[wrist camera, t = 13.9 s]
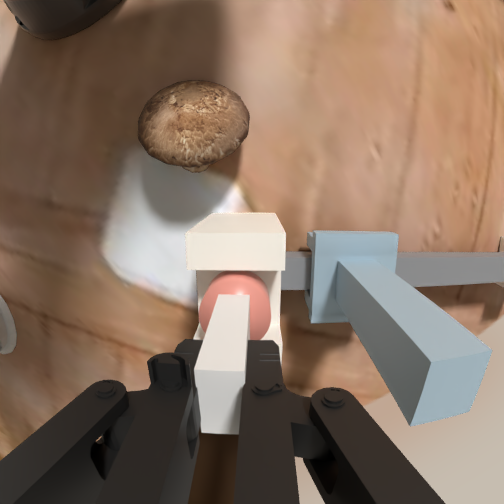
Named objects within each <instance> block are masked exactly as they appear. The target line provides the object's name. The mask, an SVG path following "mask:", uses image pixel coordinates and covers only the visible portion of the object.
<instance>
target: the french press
mask: <svg viewBox="0 0 504 504" xmlns="http://www.w3.org/2000/svg"><path fill="white" fill-rule="evenodd" d="M16 338H17V332H16V328H15V324H14V319H13V317H12V315H11V312H10V310H9V308H8V306H7V303H6V302H5V301H4V299H3V298H2V297H1V295H0V353H2V354H8V353H11V352H12V351H13V349H14V348H15V346H16Z"/></svg>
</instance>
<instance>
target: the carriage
mask: <svg viewBox="0 0 504 504" xmlns="http://www.w3.org/2000/svg"><path fill="white" fill-rule="evenodd" d="M398 237H399V235H398V234H396V233H393V232H374V231H313V232H307V246H308V247H309V248H310V250H311V251H312V265H311V285H310V290H305V301H306V304H307V306H308V309H309V319H310V322H311V323H337V322H349V323H350V324H351V326H352V327H353V329H354V331H355V332H356V334H357V336H358V337H359V339H360V341H361V342H362V344H363V346H364V347H365V349H366V351H367V352H368V354H369V356H370V357H371V359H372V361H373V363H374V364H375V366H376V368H377V369H378V371H379V373H380V374H381V376H382V378H383V380H384V381H385V383H386V385H387V387H388V388H389V390H390V392H391V394H392V395H393V397H394V399H395V400H396V402H397V404H398V406H399V407H400V409H401V411H402V413H403V415H404V416H405V418H406V420H407V422H408V424H409V425H410V426H415V425H419V424H424V423H428V422H432V421H436V420H440V419H444V418H448V417H451V416H456V415H459V414H463V413H466V412H469V411H470V408H471V406H472V404H473V401H474V399H475V396H476V394H477V391H478V389H479V386H480V384H481V381H482V379H483V376H484V373H485V370H486V367H487V364H488V362H489V359H490V356H491V353H492V350H491V349H490V348H489V347H488V346H487V345H485V344H484V343H483V342H482V341H481V340H479V339H478V338H477V337H476V336H475V335H473V334H472V333H471V332H470V331H469V330H467V329H466V328H465V327H464V326H462V325H461V324H460V323H459V322H457V321H456V320H455V319H454V318H452V317H451V316H450V315H449V314H447V313H446V312H445V311H444V310H442V309H441V308H440V307H438V306H437V305H436V304H435V303H433V302H432V301H431V300H429V299H428V298H427V297H425V296H424V295H423V294H422V293H420V292H419V291H418V290H416V289H415V288H414V287H412V286H411V285H410V284H408V283H407V282H406V281H404V280H403V279H402V278H400V277H399V276H397V275H396V274H395V269H396V259H397V249H398Z"/></svg>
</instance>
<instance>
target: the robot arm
mask: <svg viewBox="0 0 504 504" xmlns="http://www.w3.org/2000/svg"><path fill="white" fill-rule="evenodd" d="M120 1H121V0H4V2H5V3H6V5H7V7H8V8H9V10H10V11H11V12H12V13H13V14H14V15H15V18H16V21H17V23H18V24H19V26H20V27H21V28H22V29H23V30H24V31H26V32H28V33H30V34H31V35H33V36H35V37H37V38H40V39H45V40H52V39H59V38H63V37H66V36H69V35H72V34H74V33H76V32H78V31H81V30H82V29H84V28H86V27H88V26H90V25H91V24H93V23H94V22H96V21H97V20H99V19H100V18H101V17H103V16H104V15H105V14H107V13H108V12H109V11H110V10H111V9H113V8H114V7H115V6H116V5H117V4H118V3H119V2H120ZM147 364H148V370H149V375H150V381H151V384H150V387H149V389H146V390H141V391H130V392H127V391H126V387H125V386H124V385H123V383H121V382H119V381H115V380H102V381H99V382H96V383H94V384H92V385H91V386H90V387H88V388H87V389H86V390H85V391H84V392H82V393H81V394H80V395H79V396H78V397H76V398H75V399H74V400H73V401H72V402H70V403H69V404H68V405H67V406H66V407H64V408H63V409H62V410H61V411H60V412H58V413H57V414H56V415H55V416H54V417H52V418H51V419H50V420H49V421H48V422H46V423H45V424H44V425H43V426H42V427H40V428H39V429H38V430H37V431H36V432H34V433H33V434H32V435H31V436H30V437H28V438H27V439H26V440H25V441H24V442H22V443H21V444H20V445H19V446H18V447H16V448H15V449H14V450H13V451H12V452H10V453H9V454H8V455H7V456H6V457H4V458H3V459H2V460H1V461H0V504H188V499H189V494H190V489H191V484H192V479H193V474H194V469H195V464H196V459H197V454H198V449H199V444H200V441H199V433H198V432H199V428H200V424H201V432H202V433H215V434H239V438H238V451H237V464H236V477H235V490H234V503H233V504H300V503H299V494H298V485H297V475H296V466H295V457H294V456H296V457H301V458H303V461H304V463H305V465H306V467H307V469H308V471H309V473H310V475H311V477H312V479H313V481H314V483H315V485H316V487H317V489H318V491H319V493H320V495H321V496H322V498H323V500H324V502H325V504H445V503H444V501H443V500H442V499H441V498H440V497H439V496H438V495H437V493H436V492H435V491H434V490H433V489H432V488H431V487H430V486H429V484H428V483H427V482H426V481H425V480H424V478H423V477H422V476H421V475H420V474H419V472H418V471H417V470H416V469H415V468H414V467H413V465H412V464H411V463H410V462H409V461H408V460H407V458H406V457H405V456H404V455H403V454H402V453H401V451H400V450H399V449H398V448H397V447H396V446H395V444H394V443H393V442H392V441H391V440H390V438H389V437H388V436H387V435H386V434H385V433H384V431H383V430H382V429H381V428H380V427H379V425H378V424H377V423H376V422H375V421H374V420H373V419H372V417H371V416H370V415H369V414H368V412H367V411H366V410H365V409H364V408H363V406H362V405H361V404H360V403H359V402H358V400H357V399H356V398H355V397H354V396H353V395H352V394H351V393H350V392H348V391H346V390H344V389H341V388H334V387H330V388H323V389H320V390H318V391H316V392H315V393H314V394H313V395H312V398H310V397H304V396H300V395H296V394H294V393H292V392H290V391H289V390H287V389H286V387H285V385H284V383H283V377H282V368H281V361H280V352H279V346H278V345H277V344H276V343H275V342H274V341H273V340H250V295H230V294H219V295H218V298H217V301H216V304H215V307H214V310H213V313H212V316H211V319H210V322H209V325H208V328H207V331H206V334H205V337H204V340H194V339H185V340H184V341H182V342H181V343H180V344H178V345H177V347H176V349H175V352H174V353H162V354H158V355H155V356H153V357H151V358H150V359H149V360H148V361H147ZM100 436H101V438H100V440H98V441H97V442H96V440H97V439H98V438H99V437H100Z"/></svg>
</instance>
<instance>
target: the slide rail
mask: <svg viewBox="0 0 504 504" xmlns="http://www.w3.org/2000/svg"><path fill="white" fill-rule="evenodd" d="M185 245H186V266H187V270H196V277H197V295H198V312H199V307H200V304H201V302H202V299H203V297H204V295H205V293H206V290H207V288H208V286H209V284H210V282H211V281H212V280H213V278H214V277H215V276H217V275H218V274H219V273H221V272H223V271H225V270H249V271H251V272H253V273H255V274H256V275H258V276H259V277H260V278H261V279H262V280H263V281H264V283H265V284H266V286H267V288H268V291H269V297H270V307H271V323H270V327H269V329H268V331H267V333H266V334H265V335H264V337H263V338H262V339H261V340H273V341H274V342H275V343H276V344H277V345H278V346H279V352H280V361H281V363H282V338H281V331H280V296H281V290H310V285H311V265H312V252H286V232H285V231H284V229H283V227H282V225H281V223H280V221H279V220H278V218H277V216H276V214H275V213H211V214H210V215H209V216H207V217H206V218H205V219H203V220H202V221H201V222H199V223H198V224H197V225H195V226H194V227H193V228H191V229H190V230H189V231H187V232H186V233H185ZM395 274H396V275H397V276H399V277H400V278H402V279H403V280H404V281H406V282H407V283H408V284H410V285H411V286H412V287H426V286H446V285H464V284H480V283H495V284H497V285H499V286H501V287H503V288H504V237H501V240H500V248H499V252H397V259H396V269H395ZM204 337H205V332H204V331H203V329H202V327H201V325H200V321H199V325H198V328H197V331H196V333H195V336H194V338H193V339H194V340H204Z"/></svg>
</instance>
